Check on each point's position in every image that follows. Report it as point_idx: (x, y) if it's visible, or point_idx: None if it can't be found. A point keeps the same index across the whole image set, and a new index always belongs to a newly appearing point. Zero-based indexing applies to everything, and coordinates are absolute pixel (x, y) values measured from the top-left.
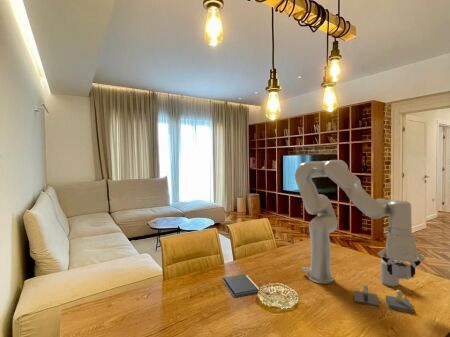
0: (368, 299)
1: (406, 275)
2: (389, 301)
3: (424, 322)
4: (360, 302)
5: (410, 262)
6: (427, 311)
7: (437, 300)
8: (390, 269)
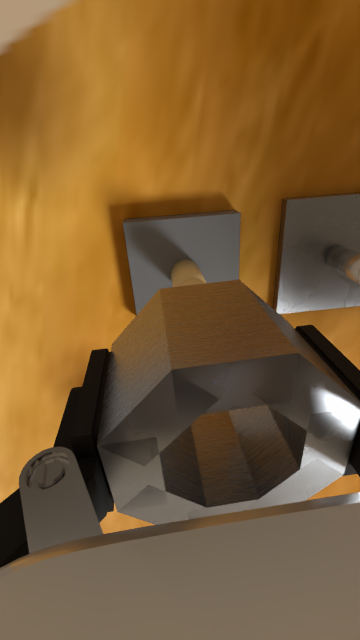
0: (328, 242)
1: (168, 308)
2: (231, 256)
3: (76, 139)
4: None
5: (101, 530)
6: (59, 274)
7: (19, 395)
8: (338, 356)
